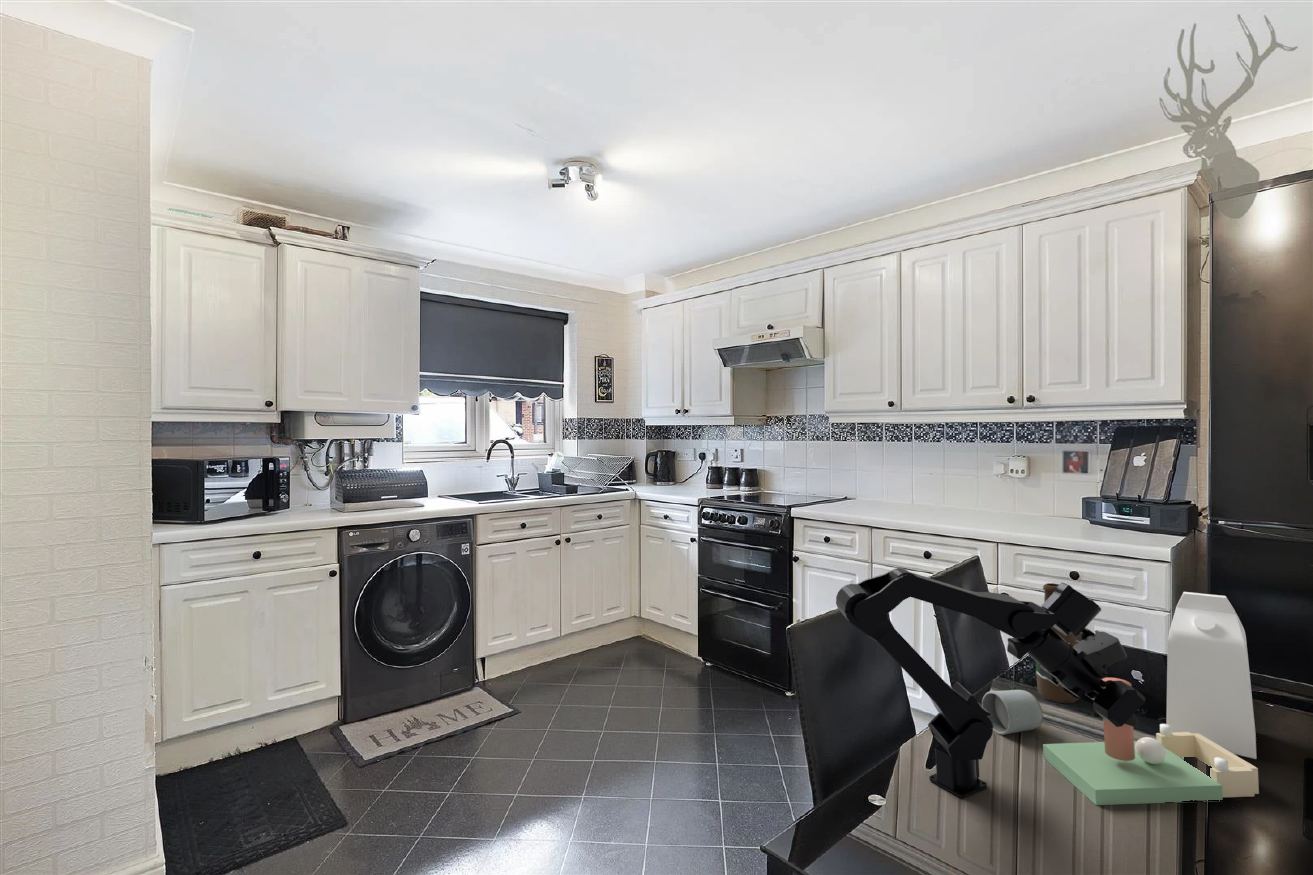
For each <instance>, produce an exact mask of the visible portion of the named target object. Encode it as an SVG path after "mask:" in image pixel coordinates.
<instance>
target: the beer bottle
mask: <svg viewBox="0 0 1313 875" xmlns="http://www.w3.org/2000/svg"><path fill="white" fill-rule="evenodd" d="M1058 586H1059V583H1054V582H1050V583H1045V584H1044V585H1043V586H1042V590H1044V598H1043V600H1044V601H1043V603H1044V602H1045V601H1046V600H1047V599H1048V598H1049V597H1050V596H1051V595H1052V594H1053V593H1054V591H1055V590H1056V588H1057V587H1058ZM1051 628H1052V629H1053V630H1054V631H1055V632H1056V633H1057V634H1058V635H1060V636H1061V637H1062V638H1063V639H1064V640H1065V641H1066V642H1068V643H1069V644H1071V645H1072V646H1074V645H1076V644H1077V643H1076V636H1074V635H1073V634H1071V633H1070V632H1069V634H1068V636H1066V635H1064V634H1063V633H1061V632H1060V631H1058V630H1057V629H1056V628H1054V627H1051ZM1035 672H1036V686H1037V689H1036V690H1037V693H1038V694H1039V695H1040V696H1041V697H1042V698H1043V699H1044V700H1048V701H1051V702H1053V703H1054V702H1055V703H1058V704H1074V703H1076V702H1077V701H1079V699H1077V698H1075V697H1073V696H1071V695H1070V694H1068V693H1067V692H1065V691H1064V690H1063V688H1064V687H1063V686H1062V685H1061V684H1059V685H1058V686H1056V685H1055V684H1053V683H1052V682H1050V681H1049V680H1048V679H1047V678H1046V677H1045V676H1043V675H1042V674H1041V667H1040V664H1039V663H1038V662H1037V661H1035ZM1055 680H1057V679H1055Z"/></svg>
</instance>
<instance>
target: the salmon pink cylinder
mask: <svg viewBox="0 0 1313 875" xmlns="http://www.w3.org/2000/svg"><path fill="white" fill-rule="evenodd" d="M1101 679H1102V680H1103V681H1108V680H1111V681H1122V682H1124V683H1126V684H1127V685H1129V686H1131V687H1132V683H1131V682H1129V681H1128V680H1125V679H1124V678H1123V679H1121V678H1117V677H1103V678H1101ZM1102 688H1103V687H1102ZM1104 688H1105V687H1104ZM1102 718H1103V717H1102ZM1102 720H1103V721H1102V722H1103V742H1104V743H1105V753H1106V754H1107V755H1108V756H1110V757H1112V758H1114V759H1118V760H1123V761H1131V760H1134V759H1135V749H1134V741H1135V732H1134V729H1135V728H1134V727H1133V726H1130V725H1127V724H1124V725H1123V726H1121V727H1116V726H1114V725H1113V724H1112V723H1110V722H1109V721H1107V720H1106V719H1104V718H1103V719H1102Z"/></svg>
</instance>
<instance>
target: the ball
mask: <svg viewBox="0 0 1313 875" xmlns="http://www.w3.org/2000/svg"><path fill="white" fill-rule="evenodd" d="M1136 741H1137V742H1136V745H1135V749H1136V752H1137V754H1138V756H1139V757H1140V758H1141V759H1142V760H1144V761H1145V762H1147V763H1150V764H1159V763H1162V762H1163V761H1164V760H1165V758H1166V751H1165V748H1164V746H1163V745H1162V744H1161V743H1160V742H1159V741H1157V740H1156V738H1154V737H1149V736H1148V737H1147V736H1145V737H1140V738H1138V740H1136Z"/></svg>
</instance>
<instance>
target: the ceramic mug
mask: <svg viewBox="0 0 1313 875" xmlns="http://www.w3.org/2000/svg"><path fill="white" fill-rule="evenodd" d="M981 705H982V706H983V707H984V708H985V709H986V710H987V711H988V712H989V713H990V714H991V715H989V716H987V717H988V718H989V719H990V720H991V722H992V724H993V726H994V727H993V732H995V733H996V734H998V735H1002V736H1004V735H1010V734H1015V733H1020V732H1027V731H1031V730H1035V729H1037V728H1039V727H1040V726H1042V723H1043V720H1044V719H1043V718H1044V716H1043V715H1044V713H1043V708H1042V707H1041V704H1040V701H1039V700H1038V699H1037V698H1036V696H1035V695H1034V694H1032V693H1031V692H1029V691H1028V690H1023V689H1010V690H990V691H987V692H986V693H985V694H984V696H983V697H982V700H981Z"/></svg>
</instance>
